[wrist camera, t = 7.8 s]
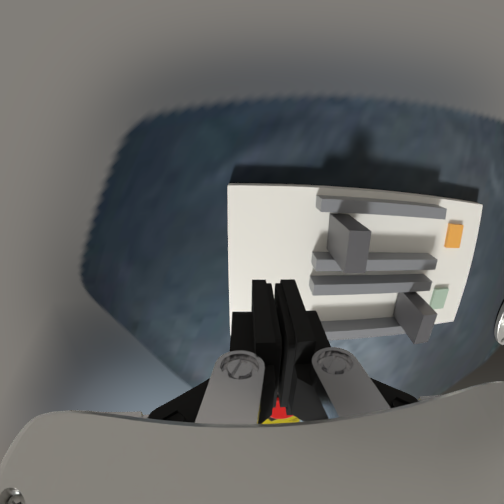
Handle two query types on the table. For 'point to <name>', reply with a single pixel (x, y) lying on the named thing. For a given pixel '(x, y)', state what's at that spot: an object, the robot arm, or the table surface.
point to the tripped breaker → (348, 243)
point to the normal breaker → (414, 316)
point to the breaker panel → (379, 257)
